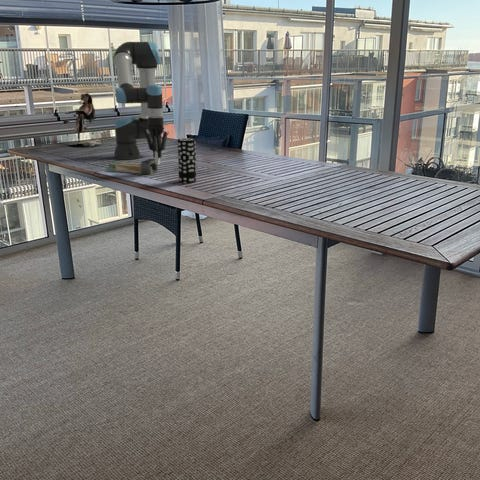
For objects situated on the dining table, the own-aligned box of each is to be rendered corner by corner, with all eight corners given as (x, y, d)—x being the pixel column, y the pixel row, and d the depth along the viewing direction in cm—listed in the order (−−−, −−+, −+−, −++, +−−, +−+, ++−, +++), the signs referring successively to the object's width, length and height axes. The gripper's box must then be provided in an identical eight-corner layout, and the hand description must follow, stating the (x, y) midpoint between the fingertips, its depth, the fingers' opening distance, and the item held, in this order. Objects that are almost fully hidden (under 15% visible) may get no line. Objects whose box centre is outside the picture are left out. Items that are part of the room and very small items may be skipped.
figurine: (73, 147, 364) (62, 96, 355) (107, 143, 366) (97, 92, 356) (65, 150, 340) (53, 96, 331) (101, 145, 341) (90, 91, 332)
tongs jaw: (115, 168, 277) (115, 160, 275) (147, 170, 270) (147, 162, 269) (111, 169, 273) (110, 161, 272) (143, 172, 267) (143, 164, 265)
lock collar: (150, 169, 272) (150, 158, 270) (157, 170, 270) (156, 159, 268) (141, 173, 263) (141, 161, 261) (148, 173, 262) (148, 162, 260)
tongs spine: (113, 169, 275) (113, 162, 273) (154, 172, 267) (153, 165, 266) (109, 170, 270) (108, 164, 269) (149, 174, 263) (149, 167, 262)
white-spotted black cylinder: (193, 183, 243) (192, 141, 237) (176, 182, 245) (175, 140, 238) (198, 180, 251) (197, 138, 244) (182, 179, 252) (180, 137, 246)
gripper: (140, 117, 254) (142, 164, 262) (164, 118, 251) (166, 166, 258) (147, 115, 261) (149, 161, 269) (170, 116, 257) (172, 163, 265)
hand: (157, 164), depth 264 cm, fingers closed
